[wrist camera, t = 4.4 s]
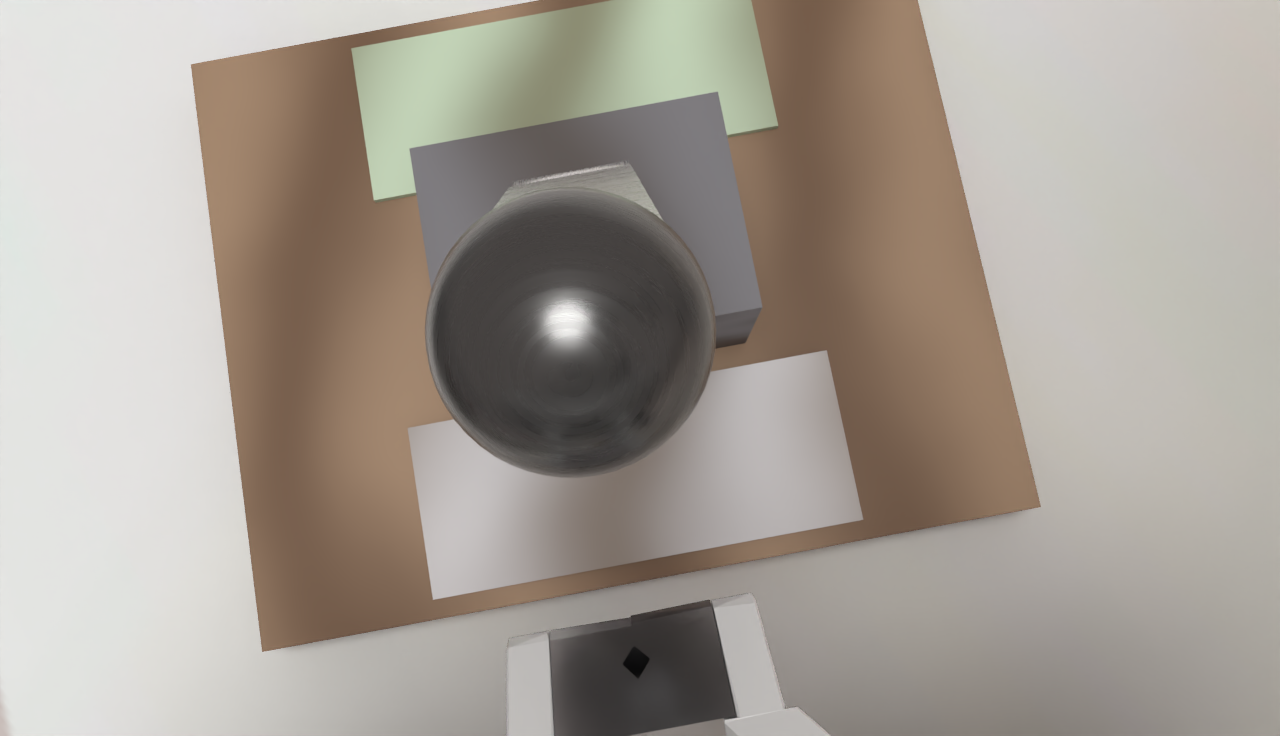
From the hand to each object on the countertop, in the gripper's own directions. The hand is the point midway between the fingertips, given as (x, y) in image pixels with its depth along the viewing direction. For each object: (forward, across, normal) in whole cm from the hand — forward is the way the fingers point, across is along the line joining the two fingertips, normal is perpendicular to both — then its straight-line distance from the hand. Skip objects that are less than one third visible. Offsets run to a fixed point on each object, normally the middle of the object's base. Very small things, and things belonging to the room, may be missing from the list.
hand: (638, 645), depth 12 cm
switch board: (+16, 0, +5) cm, 17 cm away
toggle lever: (+11, 0, 0) cm, 11 cm away
